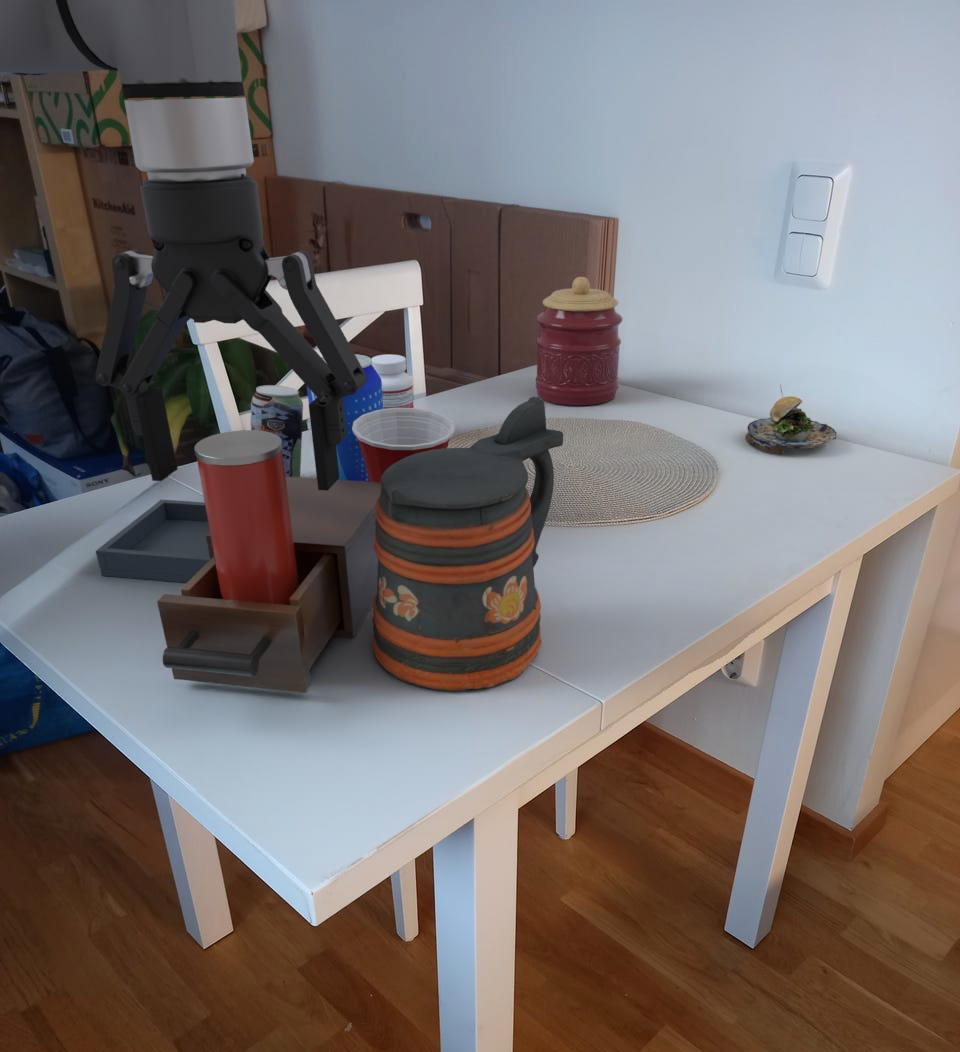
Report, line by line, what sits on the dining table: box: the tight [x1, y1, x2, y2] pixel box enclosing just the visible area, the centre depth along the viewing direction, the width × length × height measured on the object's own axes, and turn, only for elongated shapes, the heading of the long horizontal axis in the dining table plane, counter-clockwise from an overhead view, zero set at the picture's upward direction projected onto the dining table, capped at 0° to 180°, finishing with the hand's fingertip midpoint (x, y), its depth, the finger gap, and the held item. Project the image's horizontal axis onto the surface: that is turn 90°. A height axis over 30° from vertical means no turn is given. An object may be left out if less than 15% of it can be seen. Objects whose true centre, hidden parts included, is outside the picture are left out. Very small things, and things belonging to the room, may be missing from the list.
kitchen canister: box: [535, 276, 624, 406], centre depth 142 cm, size 13×13×18 cm
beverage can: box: [250, 384, 304, 477], centre depth 112 cm, size 6×7×12 cm
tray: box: [95, 499, 210, 584], centre depth 97 cm, size 14×14×3 cm
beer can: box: [306, 353, 383, 482], centre depth 107 cm, size 8×8×16 cm
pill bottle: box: [371, 353, 415, 409], centre depth 126 cm, size 6×6×11 cm
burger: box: [745, 384, 837, 455], centre depth 124 cm, size 12×12×8 cm
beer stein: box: [372, 396, 564, 692], centre depth 77 cm, size 19×15×20 cm
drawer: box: [156, 551, 343, 694], centre depth 76 cm, size 18×11×7 cm, turn 169°
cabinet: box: [206, 476, 381, 639], centre depth 87 cm, size 15×13×9 cm
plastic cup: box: [352, 407, 455, 482], centre depth 100 cm, size 11×11×12 cm
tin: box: [194, 429, 299, 605], centre depth 75 cm, size 6×6×17 cm
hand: (245, 479), depth 72 cm, fingers open, 13 cm apart
